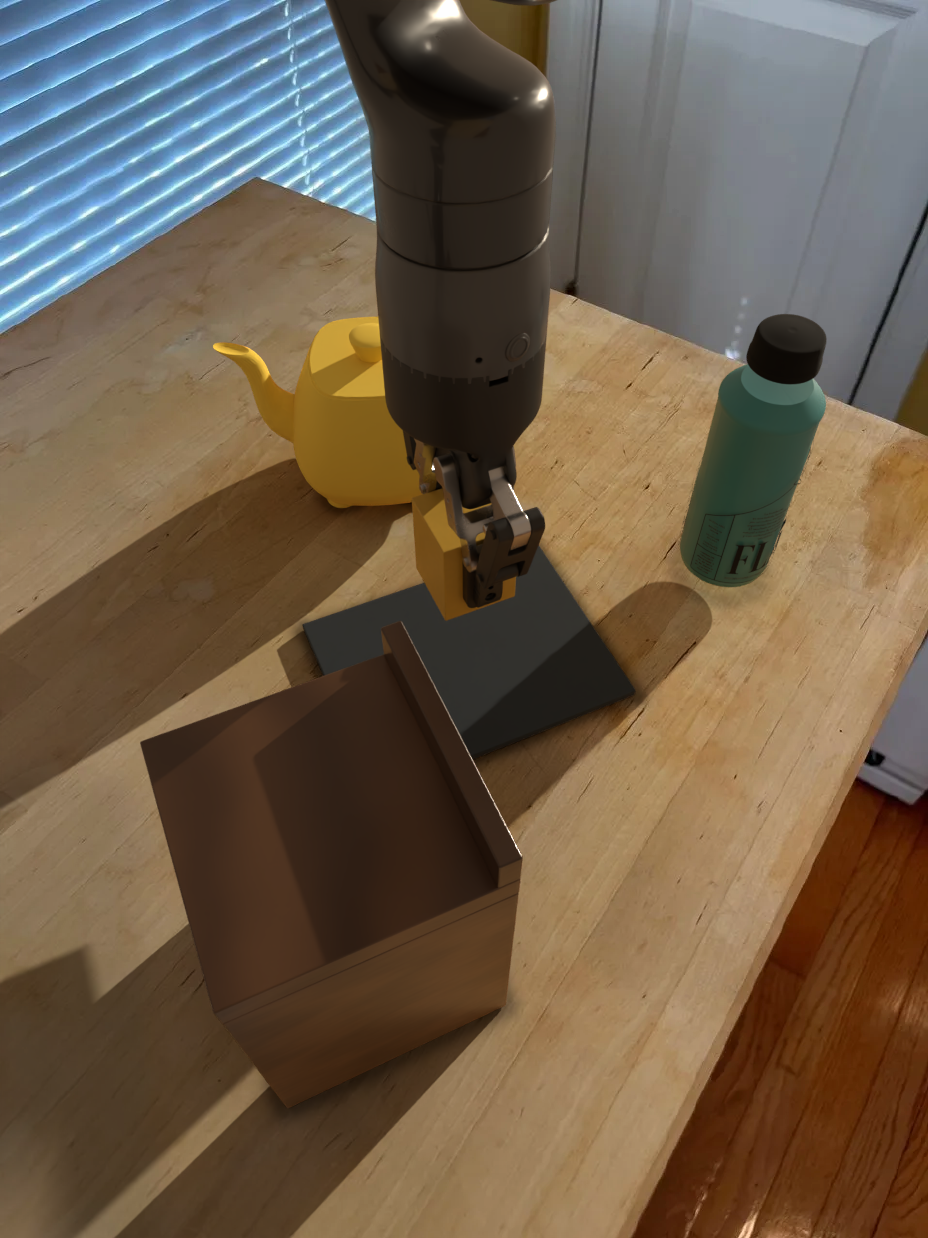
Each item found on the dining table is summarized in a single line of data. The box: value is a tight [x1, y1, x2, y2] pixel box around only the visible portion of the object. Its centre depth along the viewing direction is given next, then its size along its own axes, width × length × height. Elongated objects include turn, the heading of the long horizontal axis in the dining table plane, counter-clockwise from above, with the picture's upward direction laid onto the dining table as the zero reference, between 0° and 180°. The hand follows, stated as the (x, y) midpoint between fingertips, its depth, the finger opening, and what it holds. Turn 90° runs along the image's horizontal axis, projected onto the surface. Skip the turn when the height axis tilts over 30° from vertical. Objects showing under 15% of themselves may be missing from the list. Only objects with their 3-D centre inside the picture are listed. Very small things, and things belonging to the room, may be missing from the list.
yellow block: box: [411, 488, 516, 621], centre depth 54 cm, size 4×4×6 cm
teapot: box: [212, 316, 423, 509], centre depth 69 cm, size 13×20×12 cm
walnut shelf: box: [139, 621, 524, 1109], centre depth 44 cm, size 12×12×19 cm
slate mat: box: [302, 544, 637, 760], centre depth 62 cm, size 18×14×1 cm
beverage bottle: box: [677, 313, 828, 588], centre depth 60 cm, size 6×7×20 cm
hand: (464, 568), depth 55 cm, fingers closed on yellow block, 4 cm apart
